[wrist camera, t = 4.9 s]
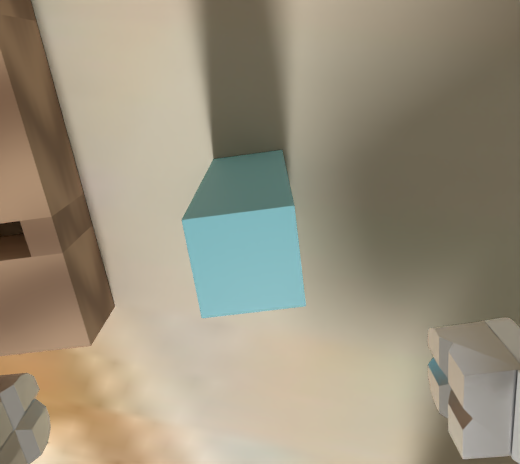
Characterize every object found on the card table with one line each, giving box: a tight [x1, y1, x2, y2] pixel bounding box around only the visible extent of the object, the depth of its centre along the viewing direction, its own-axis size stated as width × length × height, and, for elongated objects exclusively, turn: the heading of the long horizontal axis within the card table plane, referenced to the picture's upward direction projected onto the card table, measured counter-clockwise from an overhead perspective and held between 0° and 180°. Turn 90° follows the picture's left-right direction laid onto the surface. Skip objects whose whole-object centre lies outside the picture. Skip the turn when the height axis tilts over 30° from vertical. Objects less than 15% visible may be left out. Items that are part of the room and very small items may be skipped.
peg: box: [182, 150, 306, 318], centre depth 20 cm, size 4×4×10 cm
